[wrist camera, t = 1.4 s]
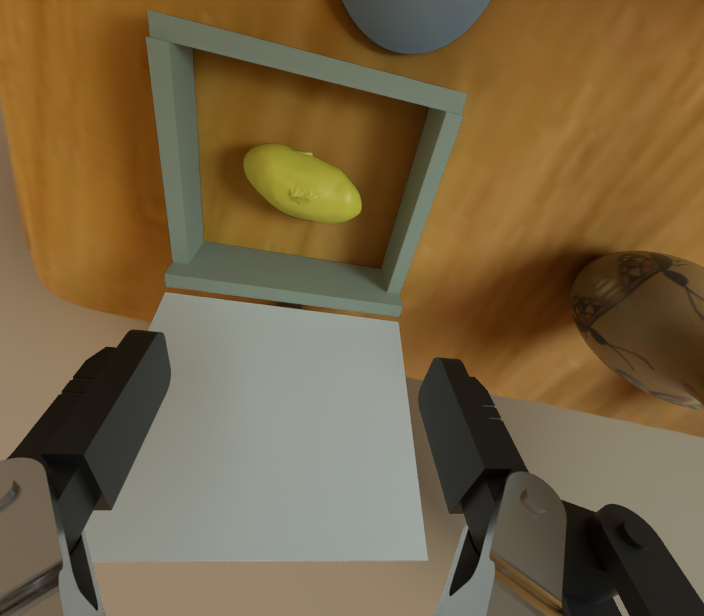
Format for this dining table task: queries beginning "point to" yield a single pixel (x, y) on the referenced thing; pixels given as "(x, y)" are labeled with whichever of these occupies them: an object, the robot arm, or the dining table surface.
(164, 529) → the lid
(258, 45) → the frame
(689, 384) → the ceramic vessel
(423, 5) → the saucer
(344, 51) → the dining table surface
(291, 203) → the yellow oblong lump
